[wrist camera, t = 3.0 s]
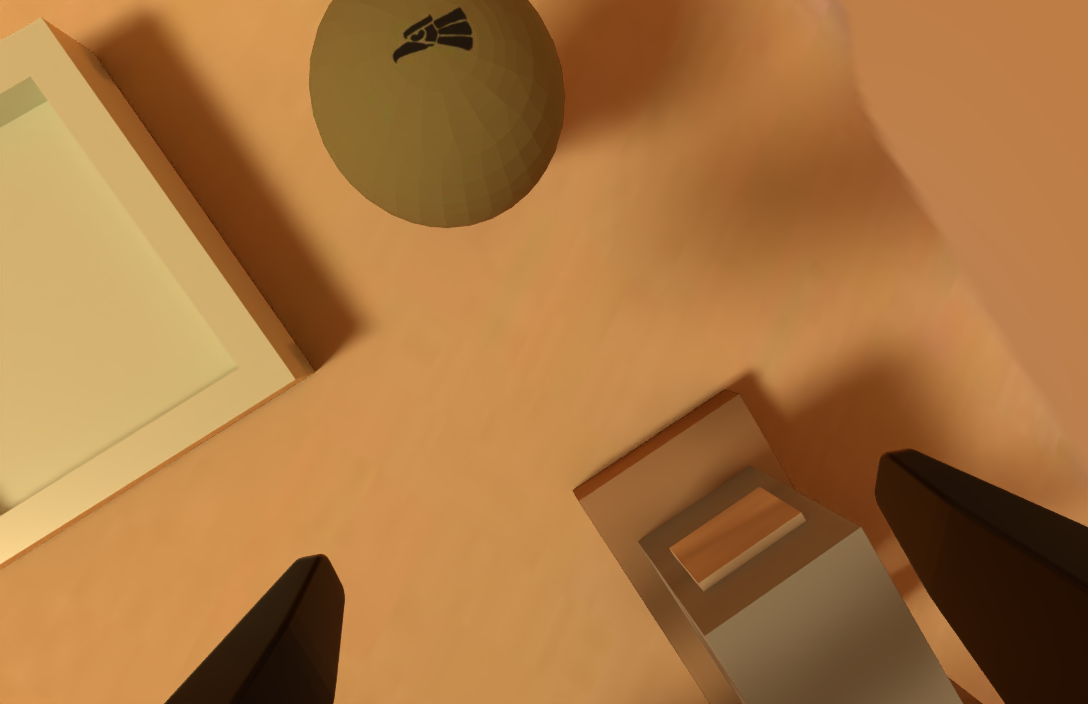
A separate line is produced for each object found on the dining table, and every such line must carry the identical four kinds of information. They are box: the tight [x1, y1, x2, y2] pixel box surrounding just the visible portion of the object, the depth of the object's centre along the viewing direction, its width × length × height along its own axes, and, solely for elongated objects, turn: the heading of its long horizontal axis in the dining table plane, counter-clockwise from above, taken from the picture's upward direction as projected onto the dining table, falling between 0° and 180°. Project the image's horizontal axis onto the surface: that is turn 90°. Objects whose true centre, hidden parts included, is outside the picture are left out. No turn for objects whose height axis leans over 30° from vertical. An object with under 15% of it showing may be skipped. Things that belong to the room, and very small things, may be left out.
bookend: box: [573, 390, 982, 704], centre depth 17 cm, size 12×7×10 cm, turn 32°
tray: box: [0, 17, 315, 569], centre depth 17 cm, size 12×12×2 cm
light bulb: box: [309, 0, 565, 228], centre depth 15 cm, size 6×6×10 cm
